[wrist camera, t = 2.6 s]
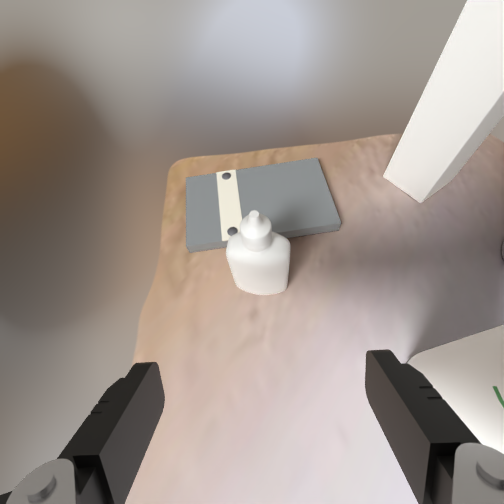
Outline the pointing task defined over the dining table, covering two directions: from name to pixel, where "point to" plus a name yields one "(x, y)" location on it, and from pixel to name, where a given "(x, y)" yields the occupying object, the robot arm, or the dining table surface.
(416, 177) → the milk
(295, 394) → the dining table surface
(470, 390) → the cylindrical container
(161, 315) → the dining table surface
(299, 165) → the floor panel
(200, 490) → the dining table surface
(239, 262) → the eye dropper bottle
